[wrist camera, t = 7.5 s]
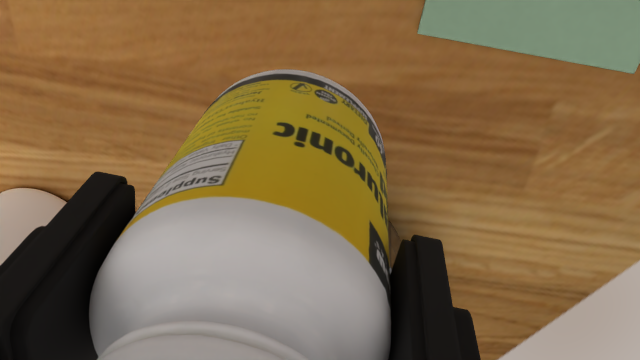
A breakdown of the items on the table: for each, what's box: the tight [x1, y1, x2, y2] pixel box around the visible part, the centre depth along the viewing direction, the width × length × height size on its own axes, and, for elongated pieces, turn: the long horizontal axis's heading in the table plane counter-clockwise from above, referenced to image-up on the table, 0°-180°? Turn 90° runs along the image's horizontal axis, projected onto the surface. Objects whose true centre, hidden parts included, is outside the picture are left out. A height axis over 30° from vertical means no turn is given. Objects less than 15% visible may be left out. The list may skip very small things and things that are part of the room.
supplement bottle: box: [89, 70, 392, 360], centre depth 11 cm, size 5×5×10 cm
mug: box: [0, 188, 67, 265], centre depth 35 cm, size 9×12×11 cm
